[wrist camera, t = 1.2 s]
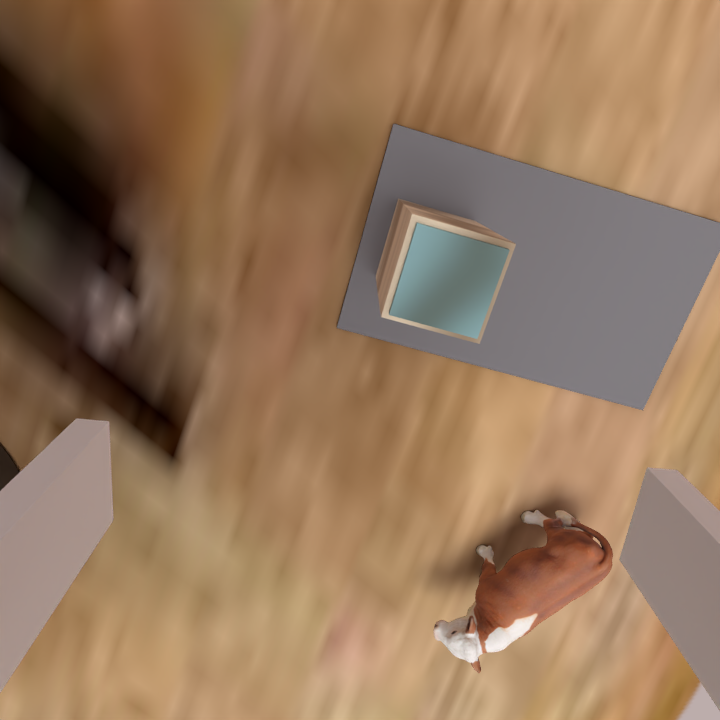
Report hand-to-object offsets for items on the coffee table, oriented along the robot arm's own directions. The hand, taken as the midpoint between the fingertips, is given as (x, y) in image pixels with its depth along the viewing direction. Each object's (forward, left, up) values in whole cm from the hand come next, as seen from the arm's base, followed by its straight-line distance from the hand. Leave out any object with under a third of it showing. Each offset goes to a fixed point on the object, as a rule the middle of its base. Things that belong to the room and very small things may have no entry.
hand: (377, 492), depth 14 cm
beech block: (+3, +3, -25) cm, 25 cm away
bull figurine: (+16, -17, -25) cm, 34 cm away
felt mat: (+10, +3, -25) cm, 27 cm away
